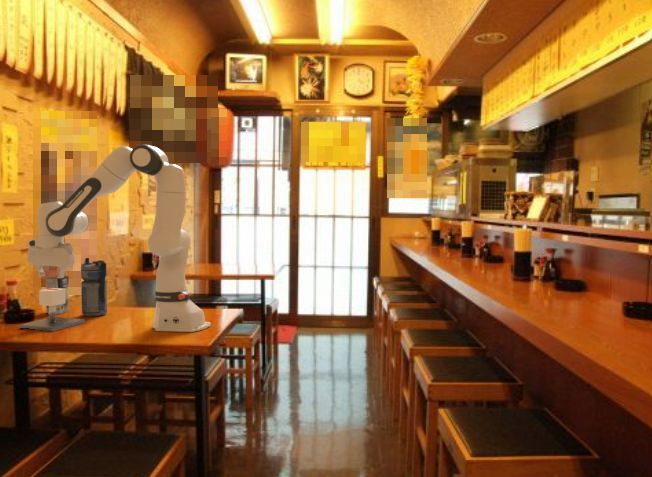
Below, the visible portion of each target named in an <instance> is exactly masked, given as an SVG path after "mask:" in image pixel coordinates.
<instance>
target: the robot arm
mask: <svg viewBox="0 0 652 477" xmlns="http://www.w3.org/2000/svg"><path fill="white" fill-rule="evenodd" d="M137 171H138V172H140V173H142V174H145V175H148V176H151V177H154V178H155V180H156V201H155V202H156V203H155V206H156V207H155V217H154V221H153V224H152V230H151V234H150V235H149V237H148V239H147V247H148V249H149V251H150V252H151V253H152V254H153V255H155V256H157V257H160V258H159V262H158V266H157V267H156V271H155V272H156V273H155V274H156V276H155V277H156V279H155V282H156V284H155V285H156V286H155V288H156V290H155V292H154V294H155V296H154V299H155V300H154V301H155V313H154V319H153V324H152V328H153V329H154V331H155V332H176V333H177V332H180V333H184V332H185V333H193V332H194V333H195V332H199V331H202V330H205V329H207V328H210V327H211V324H212V323H211V322H210V321H206V320H205V313H204V311H203V309H202V308H200V307H199V306H198V305H196V303H194V302H193V301H192V300H191V298H190V296H191V295H192V291H191V292H188V291H187V289H186V268H187V263H188V262H187V261H188V258H189V256H188V255H189V250H190V247H191V242H192V239H191V236H190V234H189V233H188V232H187V231H186V230H184V229H182V226H183V221H184V217H185V216H186V208H187V206H186V205H187V202H186V201H187V184H186V175H185V172H184V169H183V168H182V167H181V166H179V165H177V164H173V163H171V160H170V157H169V156H168V154H167V153H166V152H165V151H164V150H162V149H160V148H158V147H157V146H153V145H150V144H143V143H142V144H138V145H136V146H135V147H134V148H131V147H129V146H126V145H120V146H117V147H116V148H115V149H114V150H113V151H112V152H110V154H108V155H107V156H106V157H105V159H103V161H102V162H101V163H100V165H98V167H97V168H96V169H95V170H94V172H93V173H92V174H91V175H90V176H89V177H88V178H87V179H86V180H85V181H84V182H83V183H82V184H81V185H80V186H79V187H78V188H77V189H76V190H75V191H74V192H73V193H72V194H71V195H70V196H69V197H68V198H67V200H66V201H64V202H61V201H59V200H53V201H45V202H42V203H41V204H40V205H39V207H38V210H37V211H38V212H37V225H38V232H37V237H36V238H33V239H31V240H28V242H27V246H28V248H27V262H28V264H29V265H30V266H35V268H36V271H37V272H38V277H40V278H41V277H42V278H43V277H46V271H44V269H43V268H44V266H48V267H59V272H58V273H57V276H58V278H64V276H65V273H66V271H67V268H70V267H74V265H75V253H74V250H73V249H74V247H73V246H72V245H71V244H70V243H69V242H64V238H65V236H73V235H78V234H83V233H84V232H85V231H86V230H87V229H88V227H89V225H90V223H89V222H90V221H89V217H88V215H87V214H86V213H85V212H84V209H86V207H87V206H88V205H89V204H90V203H91V202H92V201H94V200H95V199H97V198H99V197H102V196H106V195H109V194H110V195H111V194H114V193H116V192H117V191H118V190H119V189H120V188H122V186H124V184H125V183H126V182H127V181H128V179H129V178H130V177H131V176H132V175H133V174H134V173H135V172H137Z"/></svg>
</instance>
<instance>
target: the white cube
mask: <svg viewBox="0 0 652 477" xmlns="http://www.w3.org/2000/svg"><path fill="white" fill-rule="evenodd" d="M38 297H39V298H38V300H39V302H38V304H39V306H45V307H46V306H55V305H60V304H65V289H61V288H47V289H46V288H45V289H39V290H38Z"/></svg>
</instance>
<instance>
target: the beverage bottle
mask: <svg viewBox="0 0 652 477" xmlns="http://www.w3.org/2000/svg"><path fill="white" fill-rule="evenodd" d="M107 276H108V270H107V263H106V261H105V260H101V259H100V260H99V259H98V260H97V261H96V260H93V261H92V262H90V257H85V259H84V262H83V263H82V264H81V265H80V278H81V279H82V281H81V283H80V287H81V288H80V289H81V290H80V293H81V314H82V315H83V316H85V317H87V318H88V317H91V318H94V317H101V316H104V315H107V312H108V281H107V280H106V278H107Z"/></svg>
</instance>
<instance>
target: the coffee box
mask: <svg viewBox="0 0 652 477" xmlns="http://www.w3.org/2000/svg"><path fill="white" fill-rule="evenodd" d="M69 277H70V276H69V275H64V278H58V275H55V276H51V277H46V278H45V289H47V288H61V289H65V304H60V305H56V315H61V314H64V313H65V312H68V311H70V299H69V297H70V294H69V293H70V292H69V291H70V288H69V284H70V283H69ZM45 308H46V309H45V311H46V312H45V314H46V313H48V314H47V315H49V306H45Z"/></svg>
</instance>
